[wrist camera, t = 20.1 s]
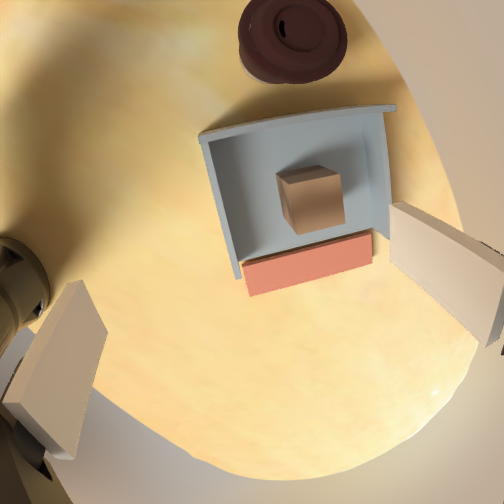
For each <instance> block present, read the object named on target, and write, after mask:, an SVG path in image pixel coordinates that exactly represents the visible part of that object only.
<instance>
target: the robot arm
mask: <svg viewBox="0 0 504 504" xmlns="http://www.w3.org/2000/svg"><path fill="white" fill-rule="evenodd" d="M389 212H390V262H391V263H393V264H394V265H395V266H396V267H397V268H399V269H400V270H401V271H402V272H403V273H404V274H406V275H407V276H408V277H409V278H410V279H411V280H413V281H414V282H415V283H416V284H417V285H418V286H419V287H421V288H422V289H423V290H424V291H425V292H426V293H427V294H429V295H430V296H431V297H432V298H433V299H434V300H435V301H436V302H437V303H439V304H440V305H441V306H442V307H443V308H444V309H445V310H446V311H447V312H448V313H449V314H451V315H452V316H453V317H454V318H455V319H456V320H457V321H458V322H459V323H460V324H461V325H462V326H463V327H464V328H465V329H466V330H468V331H469V332H470V333H471V334H472V335H473V336H474V337H475V338H476V339H477V340H478V341H479V342H480V343H481V344H482V345H483V346H484V347H487V346H488V345H490V344H492V343H493V342H495V341H496V340H498V339H499V338H500V335H501V332H502V329H503V326H504V255H503V254H501V255H500V253H499V252H498V251H496V250H493V249H492V248H491V247H490V246H487V245H486V244H484V243H483V242H480V241H477V240H475V239H474V238H472V237H470V236H468V235H467V234H465V233H463V232H461V231H460V230H458V229H456V228H454V227H452V226H451V225H449V224H447V223H445V222H443V221H441V220H439V219H438V218H436V217H434V216H432V215H430V214H428V213H426V212H424V211H422V210H420V209H418V208H416V207H414V206H412V205H410V204H408V203H406V202H404V201H402V202H397V203H393V204H389ZM49 297H50V289H49V282H48V279H47V276H46V273H45V271H44V269H43V267H42V265H41V263H40V262H39V260H38V259H37V257H36V256H35V255H34V254H33V253H32V252H31V251H30V250H29V249H28V248H27V247H26V246H25V245H23V244H22V243H20V242H18V241H16V240H13V239H10V238H0V359H1V357H2V355H3V354H4V352H5V350H6V349H7V347H8V345H9V344H10V342H11V341H12V339H13V338H14V336H15V334H16V333H17V332H18V331H20V330H22V329H23V328H25V327H27V326H28V325H30V324H32V323H34V322H35V321H36V320H38V319H39V318H40V316H41V315H42V313H43V312H44V311H45V309H46V307H47V305H48V302H49ZM107 334H108V331H107V330H106V328H105V326H104V324H103V322H102V320H101V318H100V316H99V314H98V312H97V310H96V308H95V306H94V304H93V302H92V300H91V297H90V295H89V293H88V291H87V289H86V287H85V285H84V282H83V280H79V281H75V282H72V283H68V284H67V285H66V287H65V288H64V290H63V292H62V293H61V295H60V296H59V298H58V299H57V301H56V303H55V304H54V306H53V307H52V309H51V311H50V312H49V314H48V316H47V317H46V319H45V321H44V322H43V324H42V326H41V328H40V329H39V331H38V333H37V334H36V336H35V338H34V340H33V342H32V343H31V345H30V347H29V349H28V351H27V353H26V354H25V356H24V357H23V358H22V359H21V360H20V361H19V363H18V365H17V367H16V369H15V371H14V374H13V375H12V377H11V379H10V382H9V383H8V385H7V387H6V389H5V391H4V393H3V395H2V397H1V400H0V504H73V503H72V501H71V500H70V498H69V497H68V495H67V493H66V492H65V490H64V488H63V487H62V485H61V483H60V481H59V479H58V478H57V476H56V474H55V472H54V470H53V468H52V467H51V465H50V463H49V462H48V461H47V459H46V458H44V453H45V449H46V450H47V451H49V452H50V453H51V454H52V455H53V456H54V457H55V458H56V459H67V460H68V459H69V460H75V457H76V452H77V447H78V442H79V438H80V433H81V428H82V424H83V420H84V416H85V412H86V408H87V404H88V400H89V396H90V392H91V388H92V385H93V381H94V377H95V374H96V370H97V367H98V363H99V360H100V357H101V353H102V350H103V347H104V344H105V341H106V337H107ZM501 355H504V346H503V348H502V351H501Z"/></svg>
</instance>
